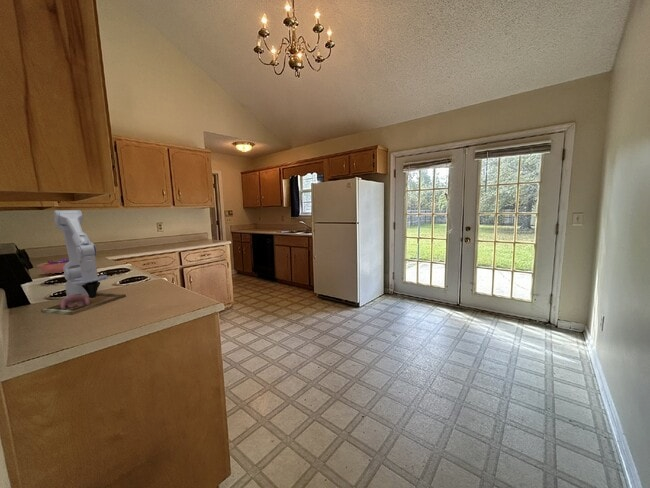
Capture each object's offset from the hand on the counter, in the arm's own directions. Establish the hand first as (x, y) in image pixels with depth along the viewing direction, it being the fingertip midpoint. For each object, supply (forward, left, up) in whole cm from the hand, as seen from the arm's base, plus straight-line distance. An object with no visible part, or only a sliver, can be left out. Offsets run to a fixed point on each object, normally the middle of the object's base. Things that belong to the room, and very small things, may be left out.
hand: (92, 297), depth 131 cm
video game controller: (0, -8, -2) cm, 8 cm away
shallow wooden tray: (0, -3, -2) cm, 4 cm away
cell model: (-94, +46, -2) cm, 105 cm away
